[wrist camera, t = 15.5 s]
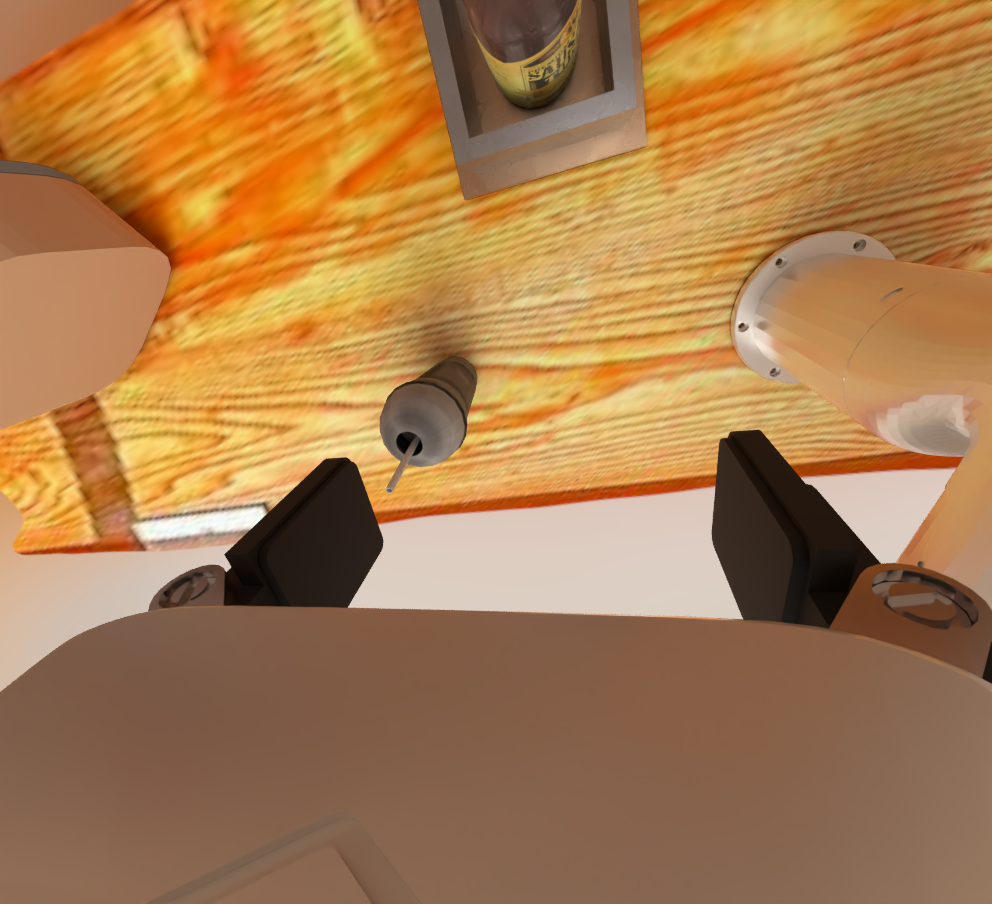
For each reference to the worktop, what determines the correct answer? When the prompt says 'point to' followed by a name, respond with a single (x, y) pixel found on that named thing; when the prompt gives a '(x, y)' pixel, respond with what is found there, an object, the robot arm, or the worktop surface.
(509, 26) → the sauce bottle
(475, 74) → the grey square open box
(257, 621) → the robot arm
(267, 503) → the worktop surface
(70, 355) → the alarm clock
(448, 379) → the beverage cup
